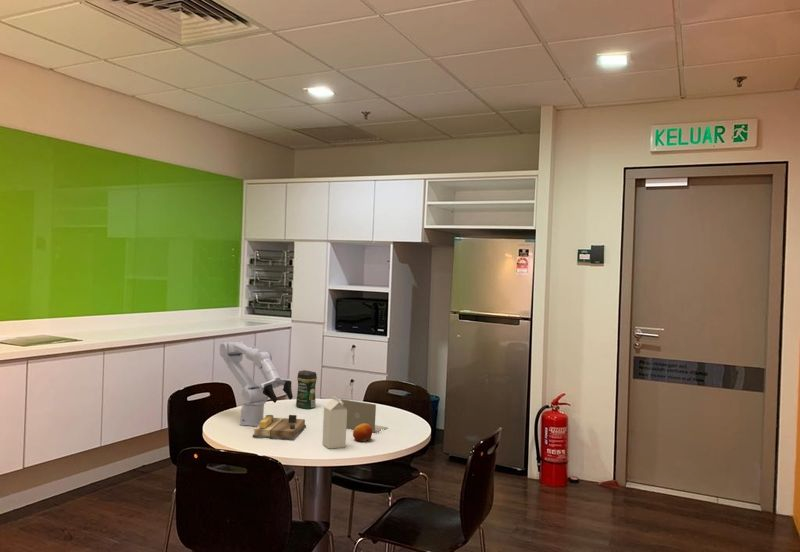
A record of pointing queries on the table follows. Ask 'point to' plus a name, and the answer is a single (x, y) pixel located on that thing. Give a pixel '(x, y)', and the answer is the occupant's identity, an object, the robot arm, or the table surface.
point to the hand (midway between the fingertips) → (283, 399)
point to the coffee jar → (306, 389)
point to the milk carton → (334, 424)
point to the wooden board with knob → (281, 429)
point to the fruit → (362, 432)
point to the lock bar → (266, 421)
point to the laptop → (361, 415)
